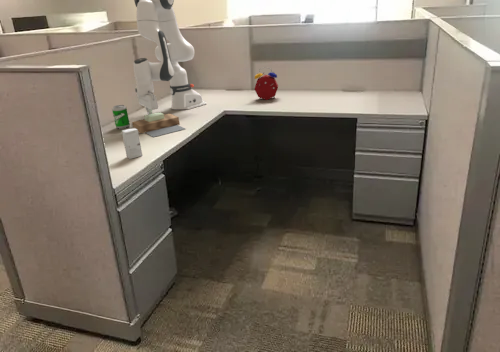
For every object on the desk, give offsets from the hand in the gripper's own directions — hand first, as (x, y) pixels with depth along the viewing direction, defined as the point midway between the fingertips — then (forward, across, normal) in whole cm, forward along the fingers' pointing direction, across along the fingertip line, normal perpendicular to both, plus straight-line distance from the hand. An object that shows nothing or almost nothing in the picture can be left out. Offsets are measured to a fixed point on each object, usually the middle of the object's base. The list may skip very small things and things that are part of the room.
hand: (150, 115), depth 230 cm
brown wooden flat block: (+5, -6, 0) cm, 8 cm away
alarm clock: (+5, -4, -76) cm, 76 cm away
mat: (+5, -18, 0) cm, 19 cm away
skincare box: (+6, -45, +26) cm, 52 cm away
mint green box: (0, -5, 0) cm, 5 cm away
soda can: (+6, +8, +14) cm, 17 cm away
